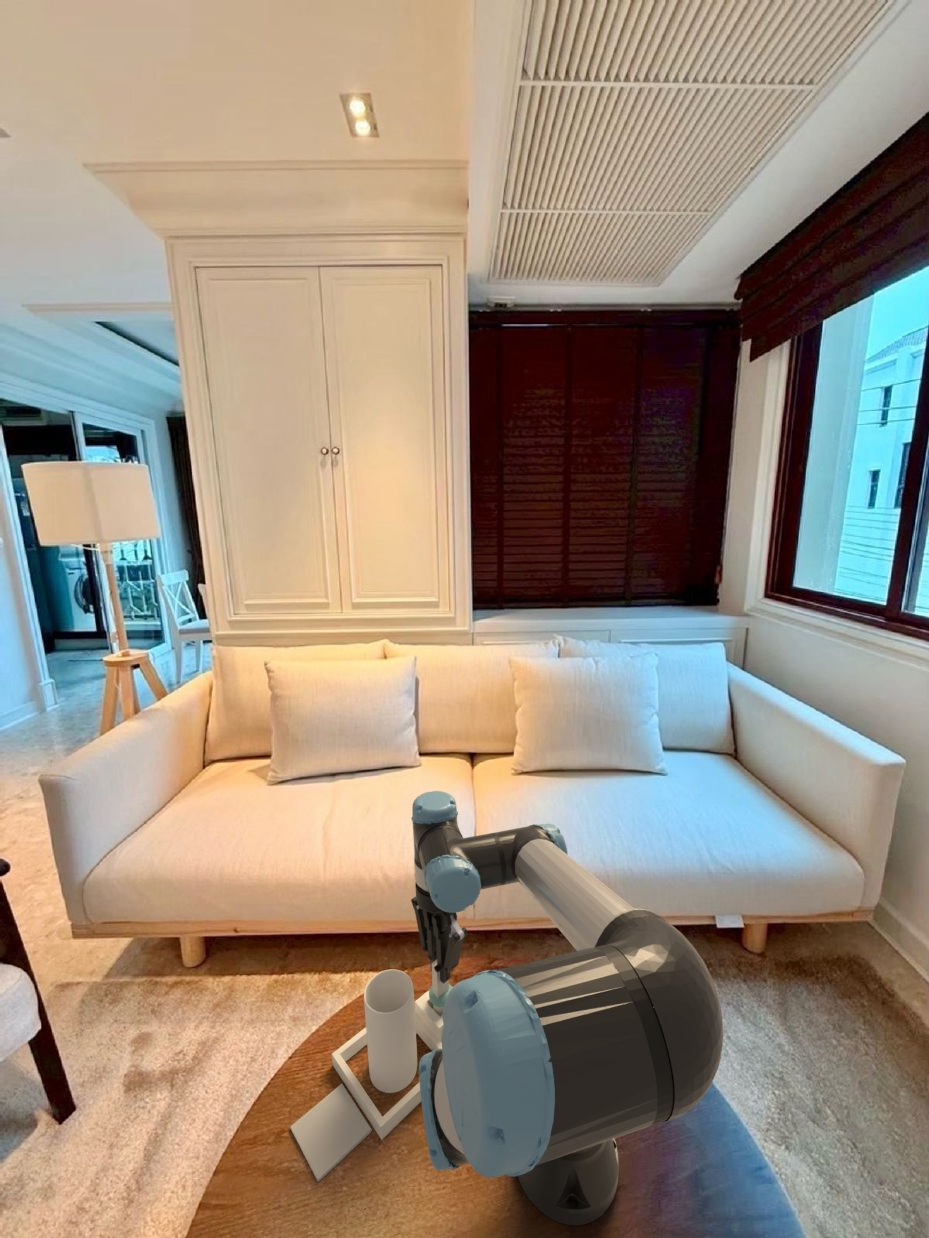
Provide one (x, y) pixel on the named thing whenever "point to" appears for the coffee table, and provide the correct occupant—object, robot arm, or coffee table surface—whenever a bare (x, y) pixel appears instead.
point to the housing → (431, 1034)
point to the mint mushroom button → (438, 1000)
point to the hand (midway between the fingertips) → (440, 990)
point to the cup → (391, 1030)
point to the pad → (330, 1131)
